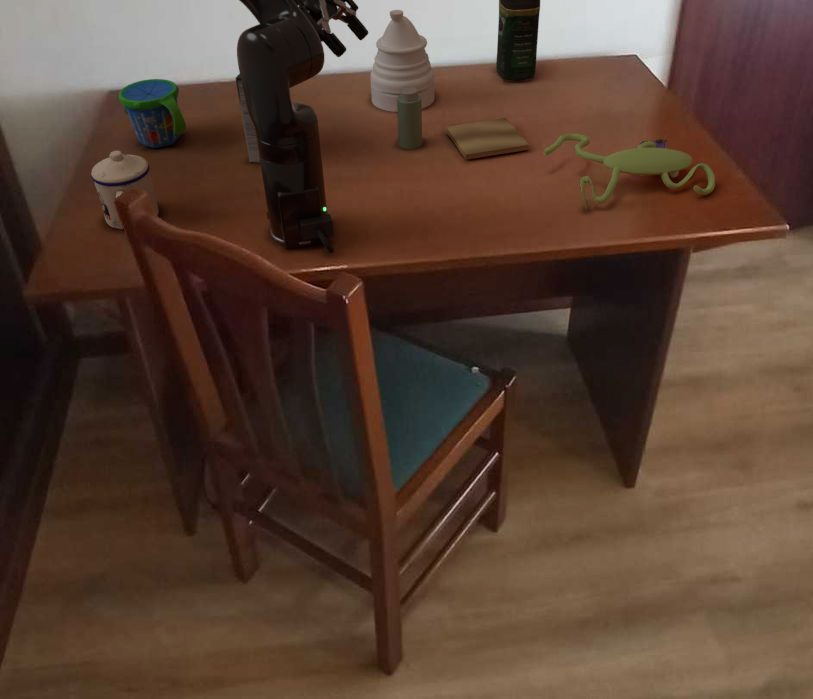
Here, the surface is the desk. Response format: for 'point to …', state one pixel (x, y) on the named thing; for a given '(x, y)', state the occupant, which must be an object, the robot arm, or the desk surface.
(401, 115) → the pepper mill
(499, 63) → the coffee jar
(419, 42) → the honey pot
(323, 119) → the desk surface
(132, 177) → the teacup with lid
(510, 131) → the plate
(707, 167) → the figurine
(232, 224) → the desk surface
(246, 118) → the coffee box
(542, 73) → the desk surface
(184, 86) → the desk surface
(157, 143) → the snack cup
